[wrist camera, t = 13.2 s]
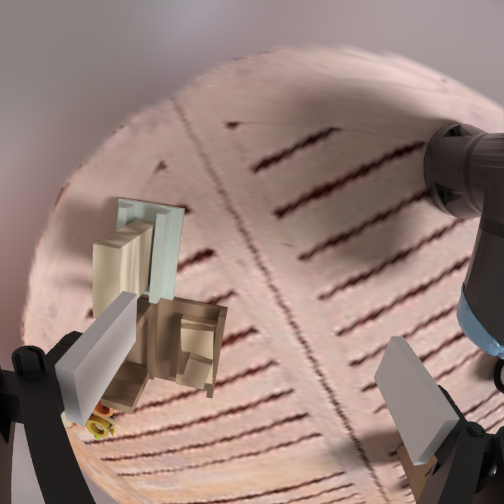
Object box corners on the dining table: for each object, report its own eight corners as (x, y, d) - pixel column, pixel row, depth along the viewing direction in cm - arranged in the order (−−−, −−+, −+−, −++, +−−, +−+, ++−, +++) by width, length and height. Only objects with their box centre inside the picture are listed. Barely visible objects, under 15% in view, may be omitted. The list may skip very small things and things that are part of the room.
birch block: (158, 222, 45) (119, 248, 31) (152, 280, 47) (117, 324, 34) (137, 219, 45) (93, 243, 31) (133, 276, 47) (93, 317, 34)
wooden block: (412, 459, 61) (436, 517, 42) (394, 448, 59) (419, 513, 40) (444, 436, 59) (473, 493, 40) (429, 423, 57) (461, 486, 38)
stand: (184, 208, 45) (177, 213, 41) (174, 297, 49) (167, 309, 45) (121, 198, 45) (109, 201, 41) (116, 284, 49) (104, 294, 45)
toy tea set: (114, 435, 60) (101, 464, 51) (56, 404, 59) (38, 430, 49) (138, 359, 53) (120, 392, 44) (66, 321, 52) (39, 346, 43)
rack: (227, 307, 50) (218, 350, 38) (214, 385, 54) (205, 434, 42) (122, 285, 49) (88, 319, 37) (122, 364, 53) (97, 406, 42)
